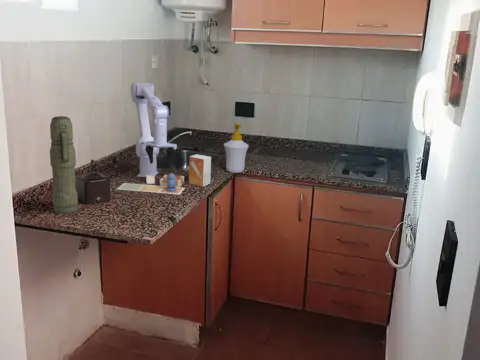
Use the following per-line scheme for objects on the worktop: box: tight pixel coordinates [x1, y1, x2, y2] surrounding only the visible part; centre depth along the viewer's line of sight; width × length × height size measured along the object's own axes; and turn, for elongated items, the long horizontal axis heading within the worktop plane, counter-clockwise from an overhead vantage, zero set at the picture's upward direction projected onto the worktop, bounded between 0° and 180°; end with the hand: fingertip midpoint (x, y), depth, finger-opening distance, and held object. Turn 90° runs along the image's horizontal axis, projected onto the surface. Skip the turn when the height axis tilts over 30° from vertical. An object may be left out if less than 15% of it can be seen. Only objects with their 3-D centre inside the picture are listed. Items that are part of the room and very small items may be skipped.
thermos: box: [49, 115, 79, 215], centre depth 179 cm, size 9×12×35 cm
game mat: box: [116, 182, 186, 196], centre depth 214 cm, size 10×28×1 cm, turn 84°
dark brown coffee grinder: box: [75, 155, 122, 206], centre depth 196 cm, size 16×11×18 cm
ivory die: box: [145, 174, 156, 185], centre depth 223 cm, size 4×4×4 cm
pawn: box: [166, 172, 176, 192], centre depth 212 cm, size 4×4×8 cm
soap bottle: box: [223, 122, 249, 174], centre depth 247 cm, size 13×13×25 cm
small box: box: [188, 153, 212, 188], centre depth 224 cm, size 8×6×13 cm
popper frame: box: [159, 174, 185, 188], centre depth 222 cm, size 9×9×3 cm
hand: (160, 163), depth 218 cm, fingers open, 7 cm apart
